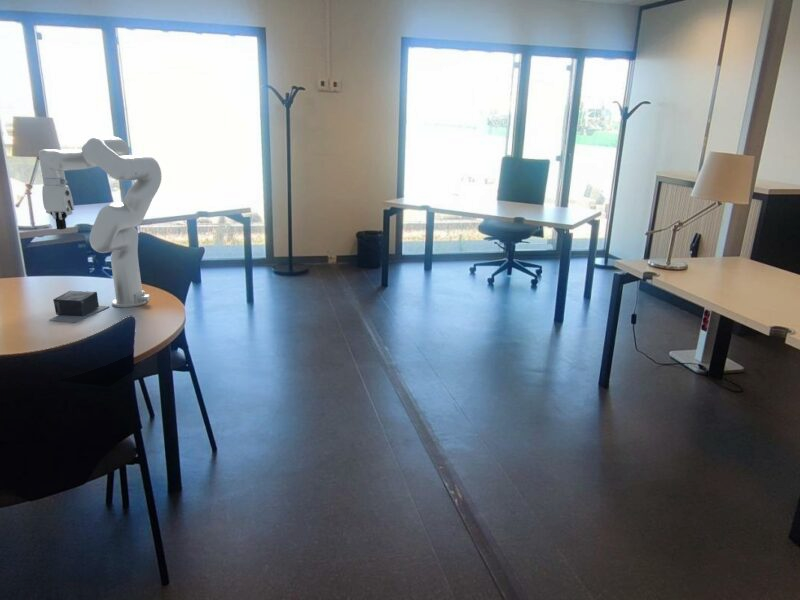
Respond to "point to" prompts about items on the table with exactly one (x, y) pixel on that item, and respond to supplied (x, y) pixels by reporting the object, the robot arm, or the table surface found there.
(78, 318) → the mat
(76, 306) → the small box
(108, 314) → the table surface
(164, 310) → the table surface
